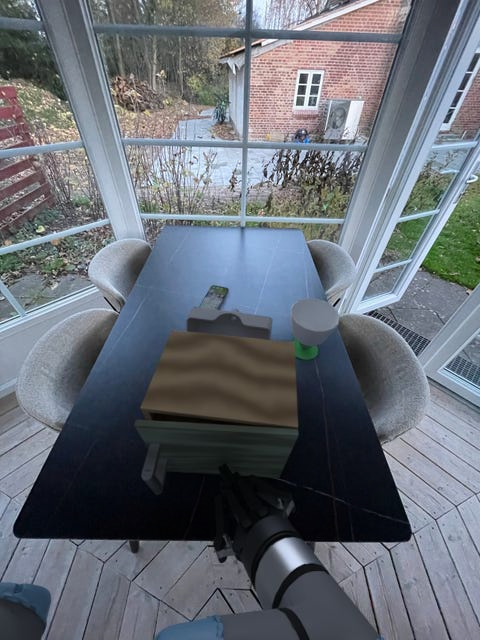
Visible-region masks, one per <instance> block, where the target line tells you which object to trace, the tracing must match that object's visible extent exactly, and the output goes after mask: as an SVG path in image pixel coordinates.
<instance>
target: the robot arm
mask: <svg viewBox="0 0 480 640" xmlns="http://www.w3.org/2000/svg"><path fill="white" fill-rule="evenodd" d="M222 466H223V467H222ZM222 466H219V467H218V469H219V472H220V474H221V475H220V474H219V475H220V477H221V480H220V481H218V486H219V488H220V490H221V494H220V493H219V494H216V495H215V496H214V512H215V515H214V516H215V526H216V527H215V530H216V533H215V535H214V539H213V542H212V547H213V549H214V553H215V556H216V557H217V560H218V563H219V564H224V563H226V561H227V559H228V557H235V559H236V561H238V562H240V563H241V564H242V565H243V567H244V570H245V573H246V574H247V577H248V578H249V581H250V583H251V585H252V588H253V591H254V592H255V594H256V597H257V599H258V601H259V604H260V606H261V610H253V611H245V612H237V613H228V614H227V613H226V614H213V615H207V616H206V617H204V618H199V619H195V620H190V621H185V622H180V623H177V624H171V625H168V626H166V627H165V628H163V629H161V630H160V631H159V632H158V633H157V634H156V635H155V636H154V638H153V639H152V640H386V638H385V637H383V636H381V635H380V634H379V632H378V631H377V630H376V628H375V627H374V626H373V625H372V623H371V622H370V621H369V620H368V618H367V617H366V616H365V615H364V614H363V613H362V611H361V610H360V609H359V607H358V606H357V605H356V604H355V603H354V601H353V599H351V597H350V596H349V595H348V593H347V592H346V591H345V590H344V589H343V588H342V586H341V585H340V584H339V582H337V580H336V579H335V578H334V577H333V575H332V574H331V573H330V571H329V570H328V569H327V567H326V566H325V565H324V564H323V562H321V559H319V557H318V556H317V555H316V553H315V552H314V551H313V550H312V549H311V547H310V546H309V545H308V543H307V542H306V541H305V540H304V538H303V537H302V536H301V534H300V533H299V532H298V531H297V529H296V528H295V526H293V524H292V523H291V522H290V518H289V515H290V514H294V513H295V512H296V511H297V507H296V505H295V502H294V499H293V496H292V493H291V492H290V491H284V490H279V489H278V488H276V487H274V486H273V485H271V484H269V483H268V482H266V481H265V480H263V479H261V477H256V476H255V475H253V474H251V475H249V476H247V478H243V476H241V475H240V474H239V473H238V472H237V471H236V472H235V473H233V474H232V472H231V471H230V469H229V468H228V466H227V465H226V463H225V464H223V465H222ZM240 495H242V498H243V499H244V500H245V502H246V504H247V506H248V507H249V508H250V510H251V511H249V512H246V511H245V509H244V508H243V507H242V505H241V503H240V501H239V500H238V498H237V496H240ZM257 496H258V497H260V498H262V499H263V500H264V501H265V502H267V503H268V504H269V505H271V506H268V505H263V503H262V502H261V500H260V499H259V498H258V497H257ZM227 506H228V507H229V508H230V511H231V512H232V514H233V516H234V518H235V520H236V522H237V525H236V529H235V533H234V536H233V540H232V538H231V536H230V531H229V522H228V513H227ZM51 604H52V594H51V592H50V590H49V589H48V588H47V587H44V586H42V585H37V584H33V583H24V582H23V583H17V582H11V581H9V582H8V581H5V582H4V581H0V640H42V639H43V635H44V634H45V632H46V629H47V626H48V622H47V621H48V617H49V616H48V615H49V612H50V609H51V608H50V607H51Z"/></svg>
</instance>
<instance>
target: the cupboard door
mask: <svg viewBox="0 0 480 640" xmlns="http://www.w3.org/2000/svg"><path fill="white" fill-rule="evenodd" d="M133 426H134V428H135V430H136V431H137V433H138V435H139V436H140V438H141V440H142V441H143V443H144V444H145V446H146V447H147V453H146V456H145V460H144V464H143V467H142V471H141V479H142V480H143V482H144V483H145V484H146V486H148V488H150V490H151V491H152V492H153V493H154V495H156V496H158V495H159V496H160V495H161V494H162V493H163V492H164V488H165V484H166V479H167V475H168V472H172V473H173V472H174V473H188V474H204V475H205V474H206V475H220V476H221V474H220V472H219V469H218V467H219V466H222V465H223V464H225V463H226V465H227V466H228V468H229V469H230V471H231V472H232V474H233V473H235V472H236V471H237V472H238V473H239V474H240V475H241V477H248V476H249V475H251V474H253V475H255V476H256V477H258V478H271V479H273V478H274V479H280V477H281V475H282V473H283V471H284V468H285V466H286V465H287V461H288V460H289V457H290V455H291V453H292V451H293V448H294V446H295V444H296V442H297V440H298V437H299V429H287V428H270V427H253V426H236V425H218V424H201V423H184V422H166V421H149V420H146V419H135V422H134V425H133ZM222 467H223V466H222Z"/></svg>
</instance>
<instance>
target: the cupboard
mask: <svg viewBox="0 0 480 640" xmlns="http://www.w3.org/2000/svg"><path fill="white" fill-rule="evenodd" d="M297 387H298V386H297V369H296V356H295V343H294V342H292V341H282V340H272V339H270V340H264V339H254V338H244V337H234V336H224V335H214V334H204V333H194V332H186V331H184V330H175V329H174V330H173V329H171V331H170V334H169V336H168V338H167V341H166V343H165V345H164V348H163V351H162V353H161V356H160V357H159V361H158V363H157V365H156V368H155V371H154V373H153V375H152V378H151V380H150V383H149V385H148V388H147V390H146V393H145V396H144V398H143V400H142V402H141V405H140V410H141V412H142V414H143V416H144V418H145V420H149V421H166V422H184V423H201V424H218V425H236V426H253V427H270V428H287V429H298V428H299V414H298V390H297ZM298 430H299V429H298Z"/></svg>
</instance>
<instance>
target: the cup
mask: <svg viewBox="0 0 480 640" xmlns="http://www.w3.org/2000/svg"><path fill="white" fill-rule="evenodd" d="M340 319H341V317H340V314H339V311H338V310H337V309H336V308H335V306H333V305H332V304H331V303H330V302H327V301H325V300H323V299H318V298H315V297H313V298H312V297H305V298H302V299H298V300H297V301H296V302H294V303H293V304H292V306H291V308H290V324H291V328H290V329H291V333H292V336H293V337H294V338H295V339H294V340H292V341H291V342H294V343H295V358H297V359H300V360H302V361H311V360H313V359H315V358H316V357H317V356H318V354H319V348H318V346H319V345H323V344H324V343H325V342H326V341H327V340H328V338H329V337H330V335H332V333H333V332H334V331H335V329H336V328H337V327H338V326H339V325H340V321H341V320H340Z"/></svg>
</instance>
